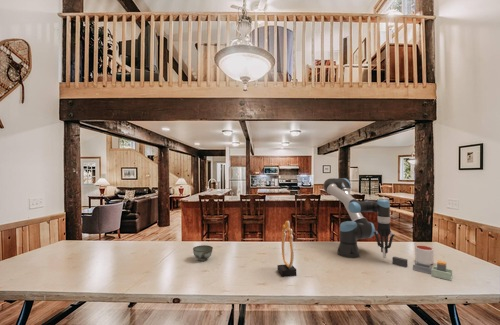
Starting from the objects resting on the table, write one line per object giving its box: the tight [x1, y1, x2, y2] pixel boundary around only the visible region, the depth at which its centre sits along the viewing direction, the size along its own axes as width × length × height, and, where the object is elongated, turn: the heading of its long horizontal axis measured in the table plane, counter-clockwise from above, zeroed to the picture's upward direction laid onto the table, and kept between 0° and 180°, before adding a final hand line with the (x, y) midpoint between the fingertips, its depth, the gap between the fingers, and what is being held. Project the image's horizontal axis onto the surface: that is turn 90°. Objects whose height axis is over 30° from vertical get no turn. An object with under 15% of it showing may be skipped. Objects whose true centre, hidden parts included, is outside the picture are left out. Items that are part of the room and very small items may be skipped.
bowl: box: [192, 244, 214, 262], centre depth 179 cm, size 14×14×8 cm
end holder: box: [431, 265, 453, 282], centre depth 152 cm, size 9×8×4 cm
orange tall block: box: [436, 260, 447, 272], centre depth 152 cm, size 4×4×8 cm
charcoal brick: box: [391, 256, 408, 268], centre depth 169 cm, size 8×3×4 cm, turn 44°
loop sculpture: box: [277, 220, 297, 278], centre depth 156 cm, size 17×9×32 cm, turn 12°
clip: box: [412, 261, 434, 275], centre depth 161 cm, size 9×7×3 cm
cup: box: [414, 245, 434, 266], centre depth 174 cm, size 10×10×10 cm
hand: (384, 257), depth 175 cm, fingers closed
